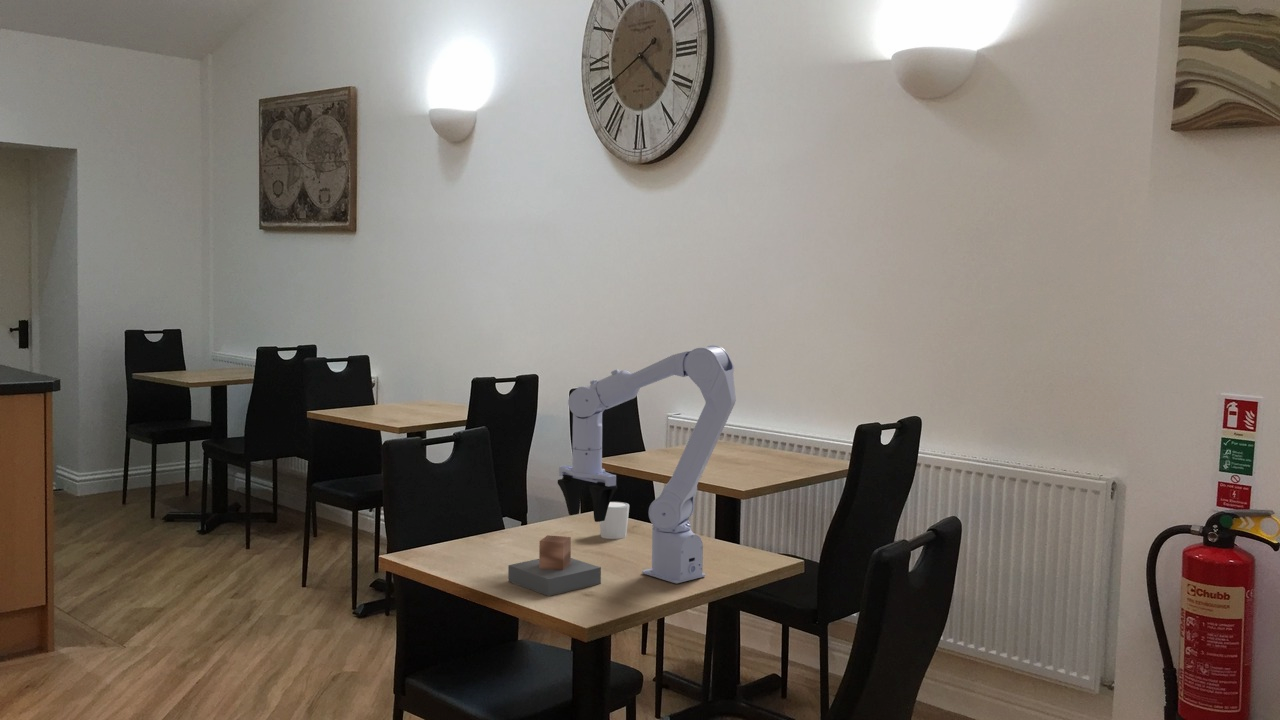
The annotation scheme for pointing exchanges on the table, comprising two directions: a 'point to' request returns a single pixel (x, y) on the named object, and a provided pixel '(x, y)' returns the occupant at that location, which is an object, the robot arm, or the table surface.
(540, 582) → the charcoal plinth
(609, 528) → the white tapered cylinder
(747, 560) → the table surface
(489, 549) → the table surface
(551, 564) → the terracotta cube
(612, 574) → the table surface
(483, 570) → the table surface
